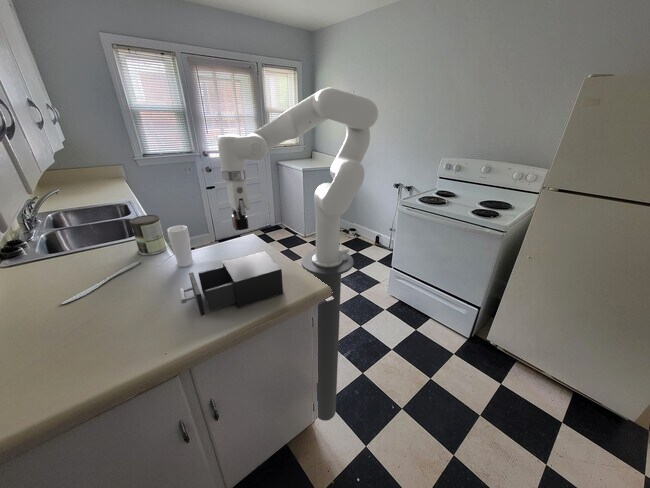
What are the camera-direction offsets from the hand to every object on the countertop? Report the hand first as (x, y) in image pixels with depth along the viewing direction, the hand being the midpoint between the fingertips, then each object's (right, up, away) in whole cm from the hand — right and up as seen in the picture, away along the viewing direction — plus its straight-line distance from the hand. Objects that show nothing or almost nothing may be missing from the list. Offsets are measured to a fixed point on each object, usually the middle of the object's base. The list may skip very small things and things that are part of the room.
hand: (240, 226), depth 96 cm
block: (0, 0, 0) cm, 0 cm away
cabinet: (+6, -21, -7) cm, 23 cm away
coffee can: (-44, -9, +19) cm, 49 cm away
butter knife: (-46, -19, -3) cm, 50 cm away
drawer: (-4, -23, -13) cm, 27 cm away
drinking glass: (-24, -14, +8) cm, 29 cm away
